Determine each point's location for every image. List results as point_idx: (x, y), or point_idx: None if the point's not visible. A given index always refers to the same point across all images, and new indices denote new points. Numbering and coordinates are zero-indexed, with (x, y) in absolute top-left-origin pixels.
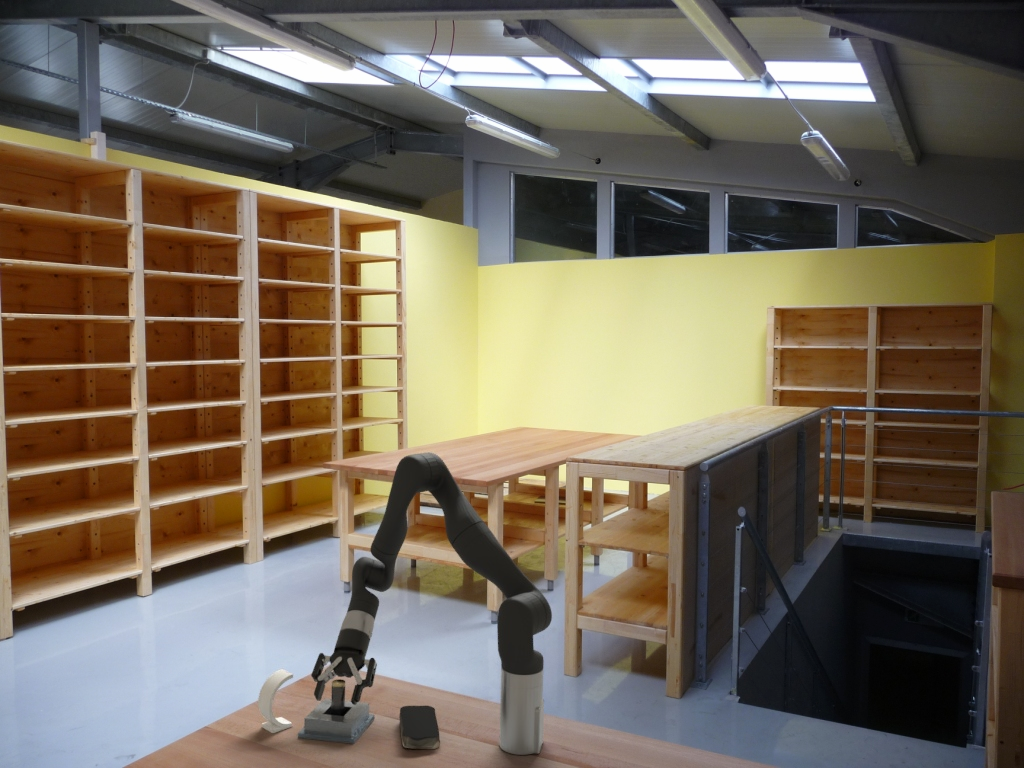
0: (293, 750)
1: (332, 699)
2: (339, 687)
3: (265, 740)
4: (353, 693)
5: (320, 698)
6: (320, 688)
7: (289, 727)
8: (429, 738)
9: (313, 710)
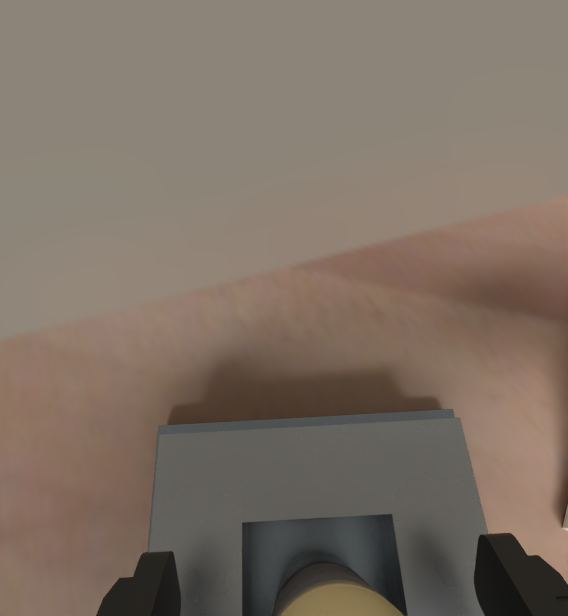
0: (388, 307)
1: (359, 576)
2: (296, 595)
3: (558, 350)
4: (145, 610)
5: (482, 593)
6: (528, 606)
7: (566, 512)
8: None
9: None
